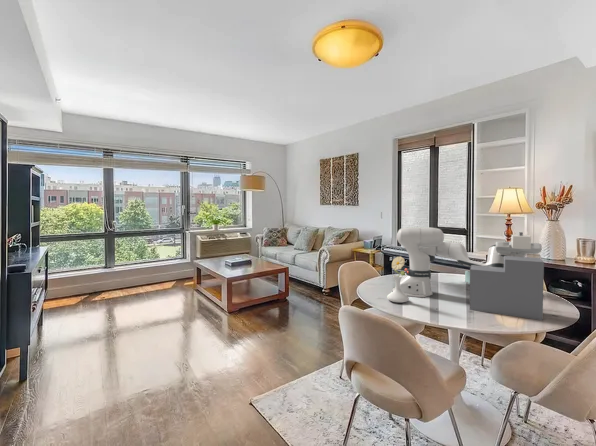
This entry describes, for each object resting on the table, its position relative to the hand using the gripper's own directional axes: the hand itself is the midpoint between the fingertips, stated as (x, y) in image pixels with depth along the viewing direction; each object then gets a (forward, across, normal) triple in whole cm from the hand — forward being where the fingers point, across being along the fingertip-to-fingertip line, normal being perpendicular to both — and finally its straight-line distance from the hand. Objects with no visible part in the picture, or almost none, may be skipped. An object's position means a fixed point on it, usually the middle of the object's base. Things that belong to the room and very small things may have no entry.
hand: (518, 241), depth 157 cm
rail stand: (+3, +7, -39) cm, 39 cm away
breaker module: (+4, 0, -4) cm, 6 cm away
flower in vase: (+12, +54, -44) cm, 71 cm away
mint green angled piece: (-44, +18, -12) cm, 49 cm away
